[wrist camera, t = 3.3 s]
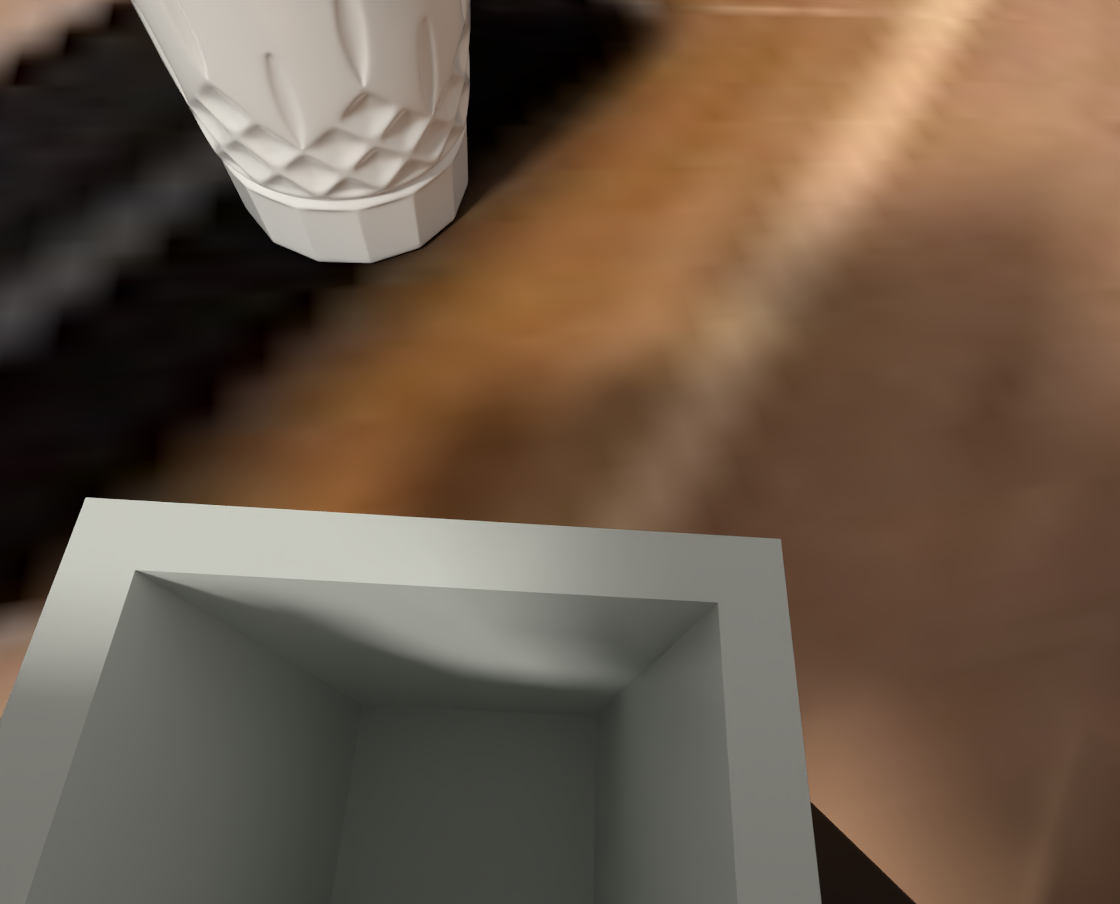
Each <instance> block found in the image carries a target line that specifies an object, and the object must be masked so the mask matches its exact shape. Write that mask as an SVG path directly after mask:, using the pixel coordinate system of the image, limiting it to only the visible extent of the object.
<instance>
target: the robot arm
mask: <svg viewBox="0 0 1120 904" xmlns="http://www.w3.org/2000/svg"><path fill="white" fill-rule="evenodd" d="M810 805H811V814H812V823H813V832H814V841H815V849H816V858H817V867H818V876H819V885H820V894H821V903H822V904H916V903H915V902H914V901H913V900H912V899H911V898H910V897H909V896H908V895H907V894H905V893H904V892H903V891H902V890H901V889H900V888H899V887H898V886H897V885H896V884H895V883H894V882H893V881H892V880H891V879H890V878H889V877H888V876H887V875H886V874H885V873H884V872H883V871H882V870H881V869H880V868H879V867H878V866H877V865H876V864H875V863H873V862H872V861H871V860H870V859H869V858H868V857H867V856H866V855H865V854H864V853H863V852H862V851H861V850H860V849H859V848H858V847H857V846H856V845H855V844H854V843H853V842H852V841H851V840H850V839H849V838H848V837H847V836H846V835H845V834H844V833H842V832H841V831H840V830H839V829H838V828H837V827H836V826H835V825H834V824H833V823H832V822H831V821H830V820H829V819H828V818H827V817H826V816H825V815H824V814H823V813H822V812H821V811H820V810H819V809H818V808H817V807H816V806H815V805H814V804H813V803H812V802H810Z"/></svg>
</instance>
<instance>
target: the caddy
mask: <svg viewBox="0 0 1120 904" xmlns="http://www.w3.org/2000/svg"><path fill="white" fill-rule="evenodd" d="M0 904H822V903H821V894H820V885H819V876H818V867H817V858H816V849H815V841H814V832H813V823H812V814H811V805H810V796H809V787H808V778H807V769H806V760H805V751H804V742H803V733H802V724H801V715H800V706H799V697H798V688H797V679H796V670H795V661H794V652H793V643H792V634H791V626H790V617H789V608H788V599H787V590H786V581H785V572H784V563H783V554H782V545H781V539H774V538H757V537H740V536H723V535H707V534H690V533H673V532H656V531H639V530H622V529H606V528H589V527H572V526H555V525H538V524H522V523H505V522H488V521H471V520H454V519H437V518H421V517H404V516H387V515H370V514H353V513H337V512H320V511H303V510H286V509H269V508H253V507H236V506H219V505H202V504H185V503H168V502H152V501H135V500H118V499H101V498H86V499H85V501H84V504H83V506H82V509H81V512H80V514H79V517H78V519H77V522H76V525H75V527H74V530H73V532H72V535H71V538H70V540H69V543H68V546H67V548H66V551H65V553H64V556H63V559H62V561H61V564H60V566H59V569H58V572H57V574H56V577H55V579H54V582H53V585H52V587H51V590H50V593H49V595H48V598H47V600H46V603H45V606H44V608H43V611H42V613H41V616H40V619H39V621H38V624H37V626H36V629H35V632H34V634H33V637H32V639H31V642H30V645H29V647H28V650H27V653H26V655H25V658H24V660H23V663H22V666H21V668H20V671H19V673H18V676H17V679H16V681H15V684H14V686H13V689H12V692H11V694H10V697H9V700H8V702H7V705H6V707H5V710H4V713H3V715H2V718H1V720H0Z"/></svg>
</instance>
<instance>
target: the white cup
mask: <svg viewBox="0 0 1120 904" xmlns="http://www.w3.org/2000/svg"><path fill="white" fill-rule="evenodd" d="M131 2H132V4H133V6H134V8H135V9H136V11H137V13H138V15H139V17H140V19H141V21H142V23H143V25H144V26H145V28H146V30H147V32H148V34H149V36H150V38H151V40H152V42H153V44H154V45H155V47H156V49H157V51H158V53H159V55H160V57H161V59H162V60H163V62H164V64H165V66H166V68H167V69H168V71H169V73H170V75H171V77H172V78H173V80H174V82H175V83H176V85H177V87H178V88H179V90H180V92H181V93H182V95H183V97H184V98H185V100H186V102H187V104H188V105H189V108H190V110H191V112H192V113H193V115H194V117H195V119H196V121H197V123H198V124H199V126H200V128H201V130H202V132H203V133H204V135H205V137H206V139H207V140H208V142H209V143H210V145H211V147H212V148H213V150H214V151H215V153H216V154H217V155H218V156H219V157H220V158H221V159H222V162H223V164H224V166H225V167H226V169H227V171H228V173H229V175H230V177H231V179H232V181H233V183H234V185H235V187H236V189H237V191H238V193H239V195H240V197H241V199H242V201H243V203H244V205H245V207H246V208H247V210H248V211H249V213H250V214H251V215H252V216H253V218H254V219H255V220H256V221H257V222H258V224H259V225H260V226H261V227H262V229H263V230H264V231H265V232H266V233H267V235H268V236H269V237H270V238H271V240H272V241H273V242H274V243H276V244H279V245H281V246H283V247H286V248H288V249H290V250H293V251H295V252H297V253H300V254H302V255H304V256H307V257H309V258H311V259H314V260H316V261H320V262H345V263H374V262H377V261H380V260H383V259H386V258H390V257H393V256H396V255H399V254H402V253H406V252H409V251H412V250H415V249H418V248H420V247H421V246H423V245H424V244H425V243H426V242H427V241H429V240H430V239H431V238H432V237H433V236H435V235H436V234H437V233H438V232H440V231H441V230H442V229H443V228H444V227H446V226H447V225H448V224H449V223H450V222H452V221H453V220H454V218H455V216H456V213H457V211H458V208H459V205H460V203H461V200H462V198H463V195H464V193H465V190H466V188H467V185H468V157H467V125H466V117H467V110H468V101H469V90H470V62H469V38H470V23H471V14H470V0H131Z"/></svg>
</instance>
